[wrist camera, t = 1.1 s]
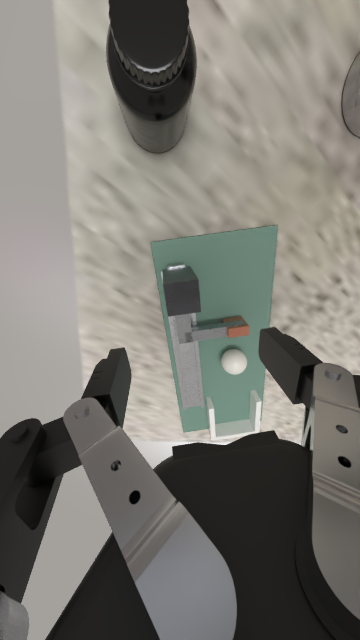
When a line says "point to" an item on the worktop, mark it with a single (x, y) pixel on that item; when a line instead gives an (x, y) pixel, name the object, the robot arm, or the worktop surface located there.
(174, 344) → the rail
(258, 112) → the worktop surface
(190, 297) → the block
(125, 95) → the supplement bottle
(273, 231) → the field
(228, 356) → the ball
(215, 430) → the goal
